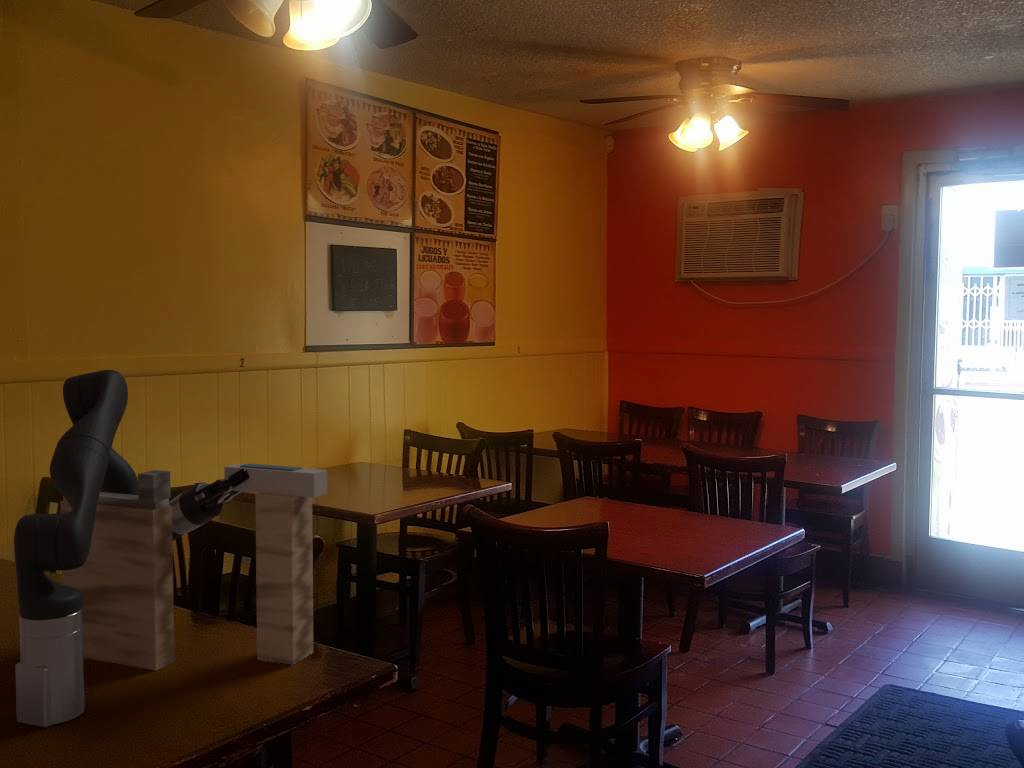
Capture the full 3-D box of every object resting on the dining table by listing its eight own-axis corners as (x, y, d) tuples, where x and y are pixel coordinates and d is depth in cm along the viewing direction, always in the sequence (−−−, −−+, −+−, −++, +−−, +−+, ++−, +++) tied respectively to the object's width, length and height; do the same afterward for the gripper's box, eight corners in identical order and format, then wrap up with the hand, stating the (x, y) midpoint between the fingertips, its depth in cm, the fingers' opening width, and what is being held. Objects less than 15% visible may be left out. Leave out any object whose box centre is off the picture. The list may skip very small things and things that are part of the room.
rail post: (155, 670, 173) (152, 475, 171) (64, 655, 181) (59, 467, 179) (174, 661, 178) (171, 471, 176) (84, 646, 186) (79, 463, 183)
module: (327, 493, 178) (326, 468, 178) (314, 497, 174) (314, 471, 174) (239, 486, 185) (238, 461, 185) (224, 489, 181) (224, 465, 181)
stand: (293, 665, 176) (291, 497, 174) (257, 659, 179) (255, 494, 177) (313, 653, 183) (312, 491, 181) (278, 648, 186) (277, 488, 184)
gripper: (159, 498, 180) (223, 458, 175) (208, 486, 194) (268, 449, 188) (176, 533, 180) (240, 494, 174) (223, 518, 193) (284, 482, 187)
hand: (254, 471), depth 181 cm, fingers closed on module, 4 cm apart
